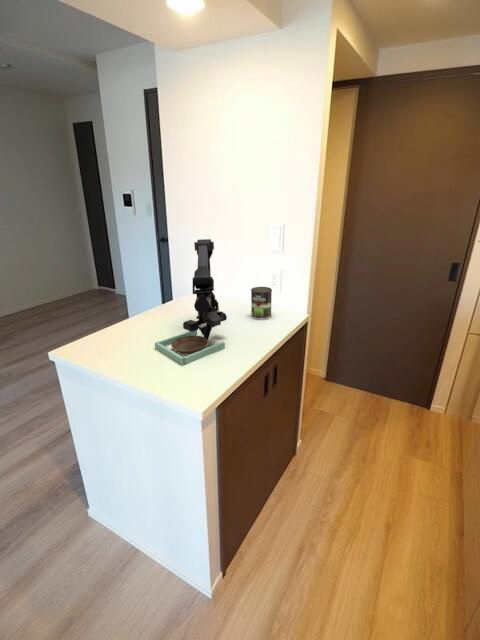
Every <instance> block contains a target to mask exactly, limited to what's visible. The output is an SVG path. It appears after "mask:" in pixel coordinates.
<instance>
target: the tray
mask: <svg viewBox="0 0 480 640" xmlns="http://www.w3.org/2000/svg"><path fill="white" fill-rule="evenodd" d="M186 336H198V330H196V331H193V332H190V331H188V330H187V331H186V332H183V333H180V334H177V335H173V336H171V337H168V338H164V339H162V340H159V341H156V342H154V348H155V350H157V351H159V352H160V353H162V354H164V355H165V356H167V357H169V358H171V360H173V361H175V362H176V363H178V364H180V365H181V366H185V365H188V364H190V363H193V362H195V361H197V360H199V359H202V358H204V357H207V356H210V355H211V354H214V353H216V352H219V351H222V350H224V349H225V348H226V345H225V344H226V342H224V341H222V342H218V343H216V344H214V345H211V346H209V347H208V346H207V347H205V348H204V349H203V350H200V351H198V352H195V353H193V354H187V355H186V356H182V355H180V353H179V354H178V352H176V351H173V350H171V348H168V347H167V346H170V345H172V343H173V342H174V341H175V340H177V339H179V338H182V337H186Z"/></svg>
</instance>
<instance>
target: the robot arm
mask: <svg viewBox="0 0 480 640" xmlns="http://www.w3.org/2000/svg"><path fill="white" fill-rule="evenodd" d="M214 242H215V241H212V239H211V238H208V239H207V238H206V239H203V238H201V239H197V241H195V242H193V245H194V252H196V254H197V269H195V271H194V273H193V277H192V295H196V298H195V302H194V306H193V307H194V309H195V311H196V312H197V315H196V320H192V319H188V320H186V321H183V323H182V329H184V330H186V331H187V332H188V331H190V332H193V331H196V330H197V331H198V330H199V332H200V333H201V334H202V337H205V338H206V339H207V340H208V341H209V339H210V334H211V332H212V329H213V328H215V327H217V326H221V324H222V322H224V321H227V314H226V313H225V312H224V311H222V310H221V311H219V310H220V309H219V307H220V305H219V302H218V300H217V298H216V295H215V293H214V292H213V291H215V281H214V278H213V276H212V275H211V260H210V259H211V258H212V255H213V252H214V250H215V243H214Z"/></svg>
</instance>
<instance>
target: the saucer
mask: <svg viewBox="0 0 480 640" xmlns="http://www.w3.org/2000/svg"><path fill="white" fill-rule="evenodd" d="M208 344H209V339H208V340H207V339H206V338H205V337H204V336H203V335H202V336H201V335H196V336H186V337H182V338H179V339H177V340H175V341H174V342H173V343H172V344H170V345H171V348H172V349H173V350H174V352H176V353H179V354H181V355H190V354H193V353H195V352H198V351H200V350H203V349H206V348H207V347H208V346H207V345H208Z"/></svg>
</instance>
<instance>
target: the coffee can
mask: <svg viewBox="0 0 480 640" xmlns="http://www.w3.org/2000/svg"><path fill="white" fill-rule="evenodd" d="M272 292H273V289H272V288H271V287H267V286H255V287H252V288H250V295H251V296H250V297H251V307H250V308H251V311H250V312H251V315H250V317H252V319H255V320H259V321H260V320H262V321H263V320H268V319H271V317H272V299H273V298H272V295H273V294H272Z"/></svg>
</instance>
